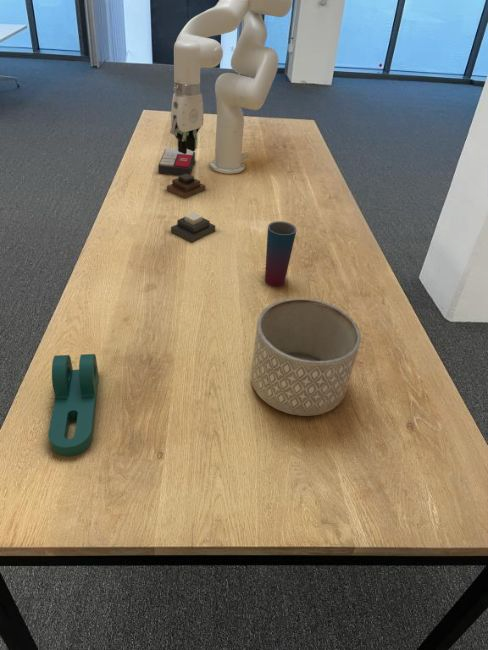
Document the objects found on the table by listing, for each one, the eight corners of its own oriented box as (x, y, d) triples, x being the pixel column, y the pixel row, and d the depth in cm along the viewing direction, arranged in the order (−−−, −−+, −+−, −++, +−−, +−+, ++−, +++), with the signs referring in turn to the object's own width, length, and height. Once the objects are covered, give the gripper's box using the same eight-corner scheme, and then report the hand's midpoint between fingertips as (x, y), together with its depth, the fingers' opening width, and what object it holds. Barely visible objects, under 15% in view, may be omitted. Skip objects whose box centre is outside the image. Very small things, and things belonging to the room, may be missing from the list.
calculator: (157, 163, 173) (165, 146, 184) (158, 175, 175) (165, 157, 187) (189, 166, 173) (195, 149, 184) (189, 178, 176) (195, 160, 187)
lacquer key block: (194, 221, 149) (195, 210, 147) (215, 230, 146) (215, 219, 144) (170, 232, 143) (170, 221, 141) (191, 242, 139) (191, 231, 137)
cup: (291, 277, 129) (299, 225, 120) (284, 291, 124) (292, 237, 115) (265, 271, 131) (272, 218, 121) (257, 284, 126) (264, 230, 116)
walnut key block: (187, 182, 171) (188, 172, 169) (205, 190, 167) (205, 180, 165) (166, 190, 165) (166, 180, 162) (184, 198, 161) (184, 188, 159)
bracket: (62, 379, 95) (55, 347, 90) (98, 377, 96) (94, 346, 91) (47, 457, 81) (39, 425, 76) (91, 454, 82) (85, 422, 77)
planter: (275, 432, 89) (286, 374, 80) (235, 364, 102) (240, 307, 93) (362, 406, 96) (381, 350, 87) (314, 345, 109) (326, 291, 100)
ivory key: (193, 217, 144) (193, 212, 143) (202, 222, 143) (202, 216, 142) (184, 221, 142) (184, 215, 141) (193, 226, 140) (193, 220, 139)
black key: (186, 178, 166) (186, 173, 165) (194, 181, 164) (194, 176, 163) (178, 181, 164) (178, 176, 163) (186, 184, 162) (186, 179, 161)
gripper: (176, 96, 140) (176, 160, 151) (215, 87, 150) (212, 148, 162) (157, 89, 143) (159, 153, 154) (196, 82, 154) (195, 142, 165)
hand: (186, 150), depth 158 cm, fingers open, 3 cm apart
